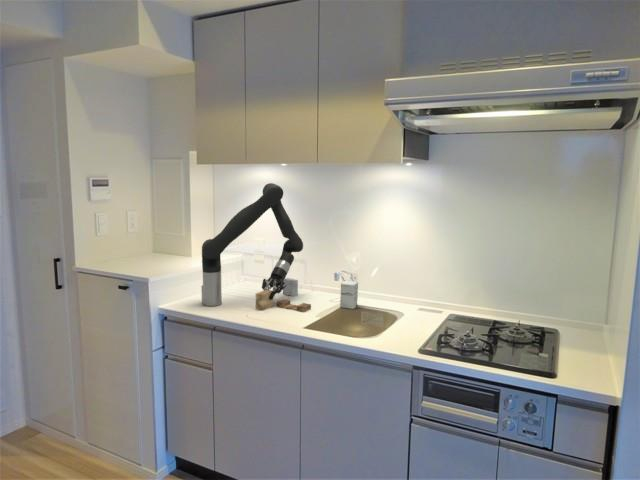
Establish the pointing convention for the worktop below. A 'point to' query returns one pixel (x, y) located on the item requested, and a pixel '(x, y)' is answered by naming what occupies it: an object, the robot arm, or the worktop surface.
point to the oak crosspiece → (263, 300)
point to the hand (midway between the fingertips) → (266, 298)
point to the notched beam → (287, 305)
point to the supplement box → (349, 294)
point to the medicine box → (290, 287)
